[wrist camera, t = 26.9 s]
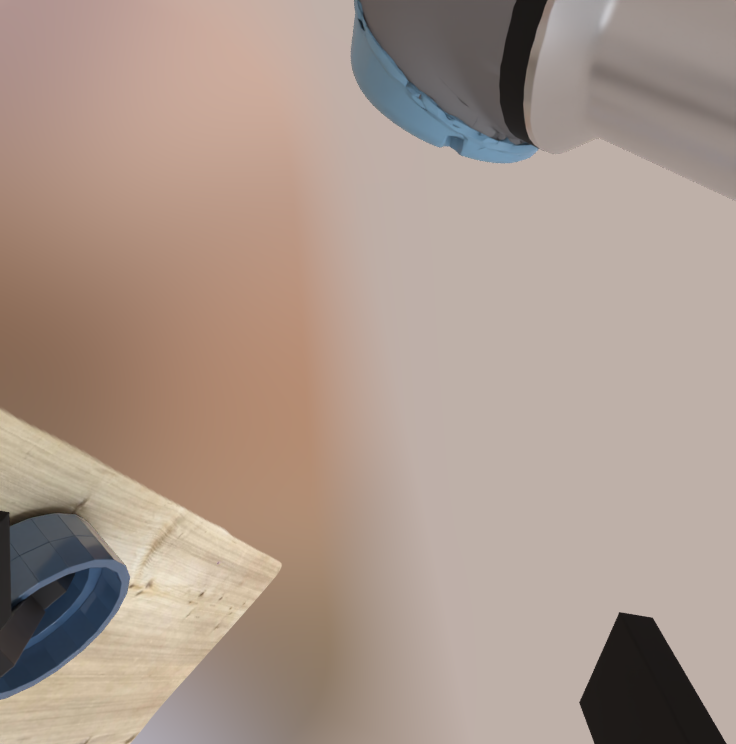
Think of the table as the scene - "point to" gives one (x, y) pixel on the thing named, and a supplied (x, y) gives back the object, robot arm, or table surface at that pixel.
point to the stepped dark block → (27, 621)
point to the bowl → (76, 606)
